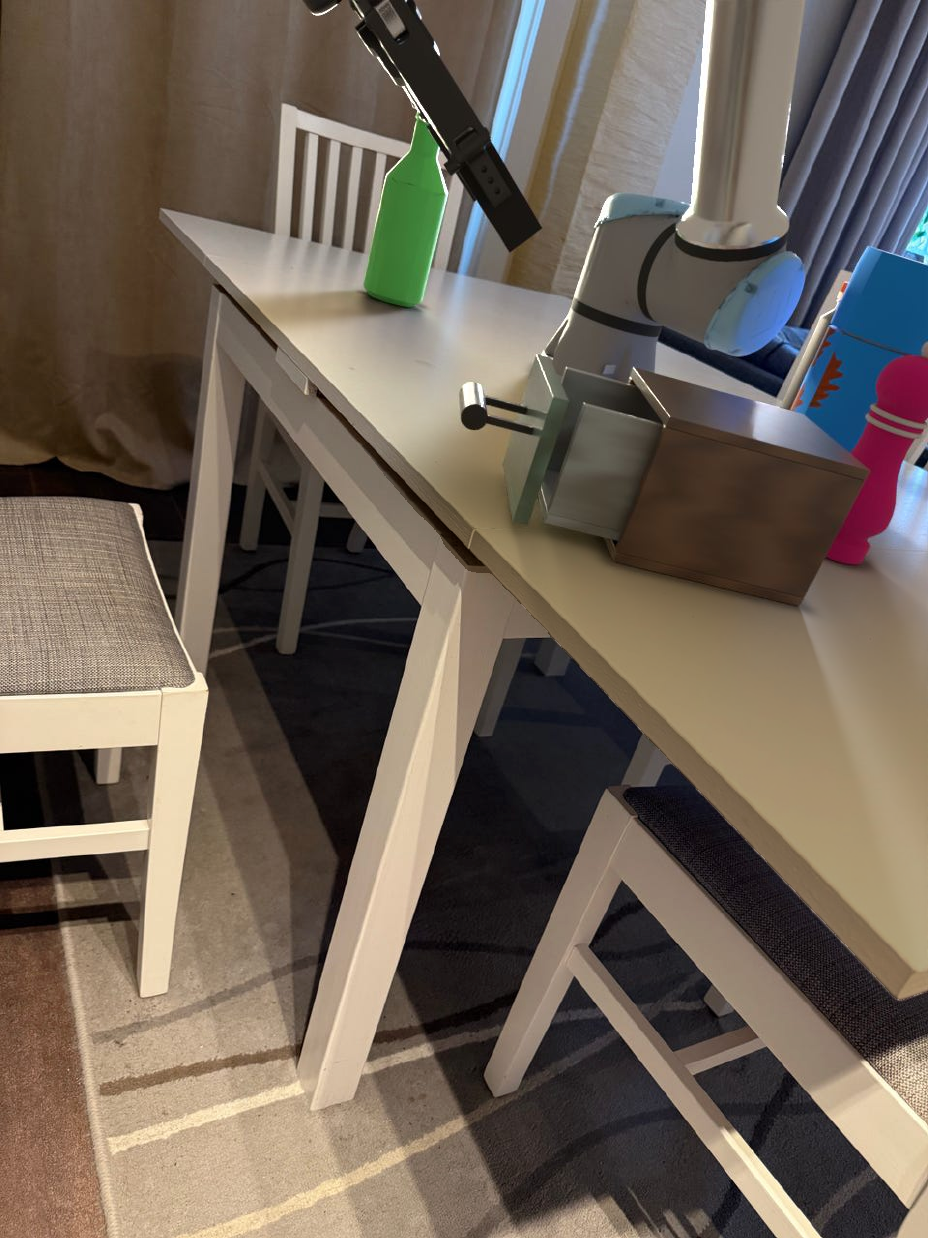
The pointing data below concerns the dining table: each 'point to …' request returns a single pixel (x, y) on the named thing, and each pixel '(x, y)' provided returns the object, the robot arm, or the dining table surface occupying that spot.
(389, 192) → the bottle
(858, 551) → the pepper mill
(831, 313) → the vinegar
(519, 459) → the drawer
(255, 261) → the dining table surface
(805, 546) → the drawer box
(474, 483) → the dining table surface
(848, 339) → the blue carton
